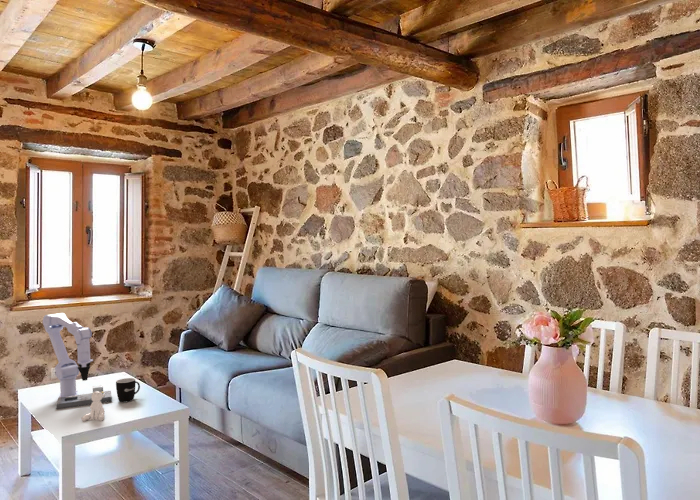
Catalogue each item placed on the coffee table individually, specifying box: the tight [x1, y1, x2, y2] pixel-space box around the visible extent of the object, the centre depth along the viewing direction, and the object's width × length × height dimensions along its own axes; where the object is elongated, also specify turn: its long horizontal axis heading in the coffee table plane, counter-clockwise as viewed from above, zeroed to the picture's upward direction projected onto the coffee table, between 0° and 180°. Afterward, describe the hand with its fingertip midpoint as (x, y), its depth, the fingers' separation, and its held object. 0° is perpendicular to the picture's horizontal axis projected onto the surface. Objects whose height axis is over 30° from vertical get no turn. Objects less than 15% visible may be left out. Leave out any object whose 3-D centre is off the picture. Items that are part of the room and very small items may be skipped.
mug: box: [115, 377, 141, 403], centre depth 265 cm, size 12×9×10 cm
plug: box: [92, 384, 104, 393], centre depth 265 cm, size 4×5×7 cm
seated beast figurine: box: [81, 391, 105, 422], centre depth 238 cm, size 10×9×12 cm
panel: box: [56, 390, 113, 410], centre depth 262 cm, size 12×24×3 cm, turn 116°
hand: (85, 378), depth 267 cm, fingers open, 7 cm apart
